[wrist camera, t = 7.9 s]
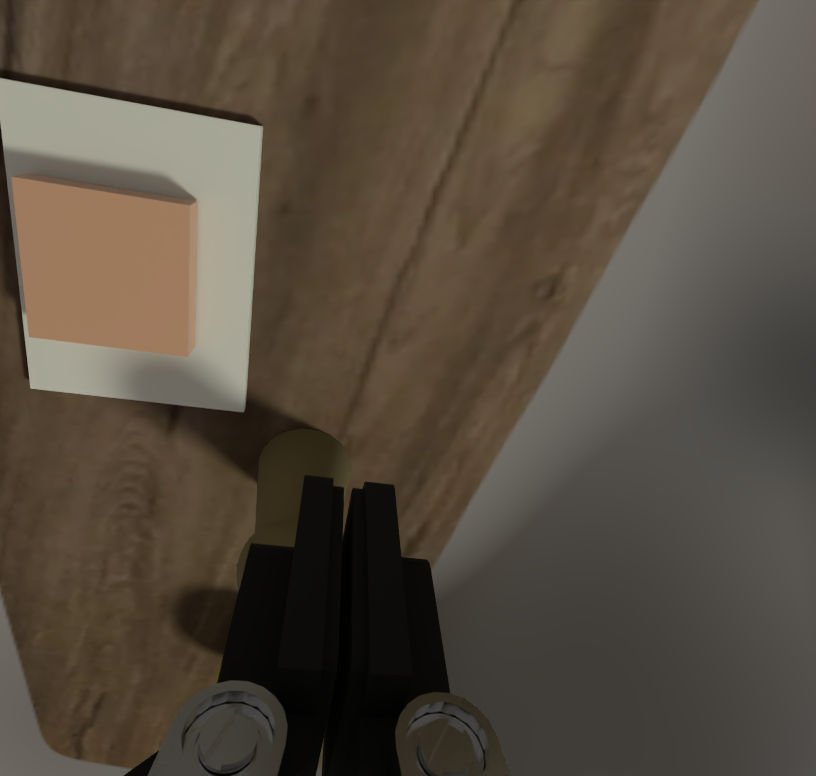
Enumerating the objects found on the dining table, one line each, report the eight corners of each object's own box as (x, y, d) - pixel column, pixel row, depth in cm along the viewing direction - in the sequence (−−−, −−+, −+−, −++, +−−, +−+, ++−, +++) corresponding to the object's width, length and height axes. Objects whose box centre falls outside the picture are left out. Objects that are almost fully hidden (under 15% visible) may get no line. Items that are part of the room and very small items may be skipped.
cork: (249, 495, 38) (211, 630, 28) (268, 418, 36) (234, 536, 26) (338, 513, 39) (331, 648, 29) (361, 440, 37) (363, 560, 27)
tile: (198, 200, 29) (30, 173, 28) (189, 205, 28) (11, 176, 27) (196, 345, 33) (45, 325, 31) (188, 356, 31) (28, 337, 30)
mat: (2, 78, 27) (-5, 77, 26) (263, 126, 29) (261, 126, 28) (35, 383, 34) (30, 388, 33) (245, 407, 35) (243, 412, 35)
